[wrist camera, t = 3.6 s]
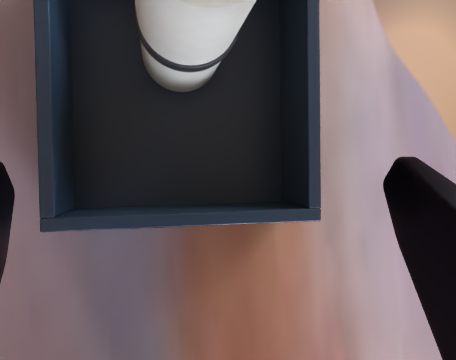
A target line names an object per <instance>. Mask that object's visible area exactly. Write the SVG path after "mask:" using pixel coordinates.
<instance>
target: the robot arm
mask: <svg viewBox="0 0 456 360" xmlns="http://www.w3.org/2000/svg"><path fill="white" fill-rule="evenodd" d="M383 188H384V193H385V197H386V200H387V204H388V208H389V212H390V216H391V219H392V223H393V227H394V231H395V234H396V238H397V241H398V244H399V247H400V250H401V252H402V255H403V257H404V260H405V263H406V265H407V268H408V271H409V273H410V276H411V278H412V281H413V284H414V286H415V289H416V291H417V294H418V297H419V299H420V302H421V304H422V307H423V310H424V312H425V315H426V317H427V320H428V323H429V325H430V328H431V331H432V333H433V336H434V338H435V341H436V344H437V346H438V349H439V351H440V354H441V357H442V359H443V360H456V184H455V183H453V182H452V181H450V180H449V179H447V178H446V177H444V176H443V175H441V174H440V173H438V172H437V171H435V170H434V169H432V168H431V167H430V166H428V165H427V164H425V163H424V162H422V161H421V160H419V159H418V158H416V157H399V158H398V159H396V160H395V162H394V164H393V165H392V167H391V169H390V170H389V172H388V174H387V175H386V177H385V179H384V182H383ZM14 197H15V194H14V188H13V185H12V183H11V180H10V178H9V176H8V173H7V171H6V168H5V166H4V165H3V163H2V162H0V282H1V279H2V275H3V271H4V267H5V263H6V257H7V250H8V243H9V235H10V228H11V221H12V213H13V206H14Z"/></svg>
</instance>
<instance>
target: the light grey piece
mask: <svg viewBox="0 0 456 360" xmlns="http://www.w3.org/2000/svg"><path fill="white" fill-rule="evenodd" d="M255 2H256V0H135V4H134V18H135V25H136V30H137V33H138V36H139V39H140V43H141V51H142V58H143V62H144V65H145V68H146V70H147V72H148V73H149V75H150V76H151V77H152V78H153V80H154V81H156V82H157V83H158V84H159V85H161V86H162V87H164V88H166V89H169V90H172V91H176V92H188V91H192V90H195V89H198V88H200V87H201V86H203V85H204V84H205V83H207V82H208V81H209V79H210V78H211V77H212V75H213V74H214V72H215V70H216V69H217V67H218V65H219V64H220V62H221V60H222V59H224V57H225V56H226V55H227V54H228V52H229V51H230V49H231V48H232V46H233V45H234V43H235V40H236V38H237V35H238V32H239V29H240V28H241V26H242V24H243V23H244V21H245V19H246V17H247V16H248V14H249V12H250V11H251V9H252V7H253V5H254V4H255Z"/></svg>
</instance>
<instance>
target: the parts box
mask: <svg viewBox="0 0 456 360" xmlns="http://www.w3.org/2000/svg"><path fill="white" fill-rule="evenodd" d="M134 4H135V0H34V33H35V68H36V102H37V137H38V172H39V206H40V217H41V218H40V231H41V232H63V231H88V230H112V229H137V228H162V227H186V226H211V225H235V224H260V223H285V222H309V221H320V220H321V210H320V208H321V184H320V49H319V0H256V2H255V4H254V5H253V7H252V9H251V11H250V12H249V14H248V16H247V17H246V19H245V21H244V23H243V24H242V26H241V28H240V29H239V32H238V35H237V38H236V40H235V43H234V45H233V46H232V48H231V49H230V51H229V52H228V54H227V55H226V56H225V57H224V59H222V60H221V62H220V64H219V65H218V67H217V69H216V70H215V72H214V74H213V75H212V77H211V78H210V79H209V81H208V82H207V83H205V84H204V85H203V86H201V87H200V88H198V89H195V90H192V91H188V92H176V91H172V90H169V89H166V88H164V87H162V86H161V85H159V84H158V83H157V82H156V81H154V80H153V78H152V77H151V76H150V75H149V73H148V72H147V70H146V68H145V65H144V62H143V58H142V51H141V43H140V39H139V36H138V33H137V30H136V25H135V18H134Z"/></svg>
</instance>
